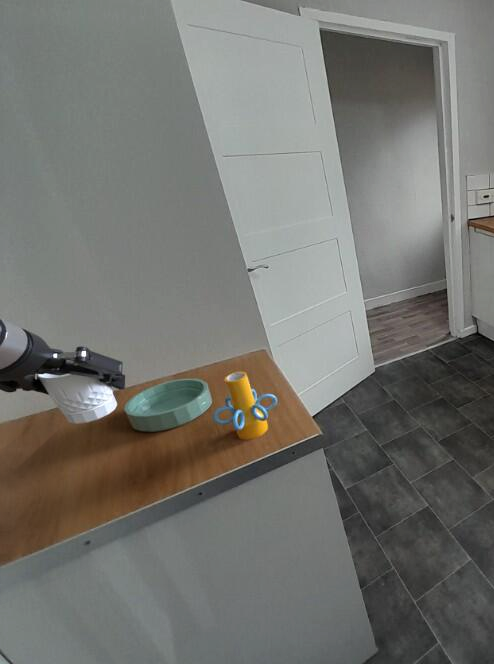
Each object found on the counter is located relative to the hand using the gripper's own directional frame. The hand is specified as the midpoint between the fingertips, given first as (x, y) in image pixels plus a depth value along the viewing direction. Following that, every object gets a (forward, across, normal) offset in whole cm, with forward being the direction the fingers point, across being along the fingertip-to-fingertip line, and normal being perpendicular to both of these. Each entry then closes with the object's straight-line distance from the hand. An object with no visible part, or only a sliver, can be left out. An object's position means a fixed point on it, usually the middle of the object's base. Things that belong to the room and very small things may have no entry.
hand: (94, 386), depth 77 cm
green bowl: (+24, +4, -2) cm, 25 cm away
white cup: (0, 0, -5) cm, 5 cm away
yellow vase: (+14, +22, -12) cm, 29 cm away
